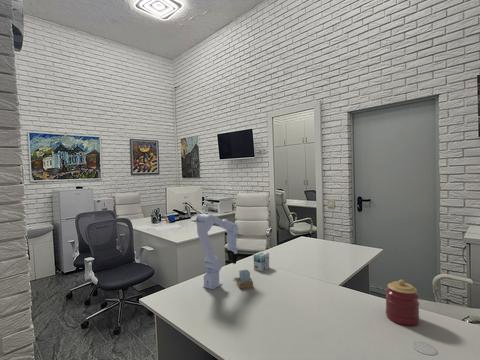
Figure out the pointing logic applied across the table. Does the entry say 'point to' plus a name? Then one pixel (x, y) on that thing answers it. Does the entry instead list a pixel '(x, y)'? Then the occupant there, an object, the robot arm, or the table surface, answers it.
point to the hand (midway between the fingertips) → (232, 261)
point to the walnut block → (244, 284)
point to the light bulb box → (261, 261)
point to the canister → (402, 303)
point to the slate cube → (244, 275)
